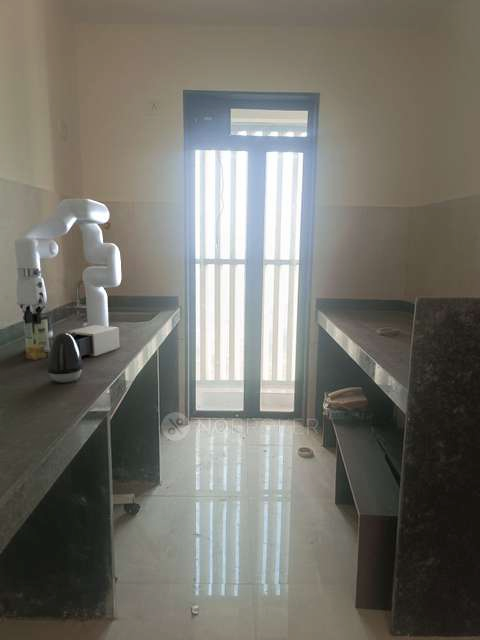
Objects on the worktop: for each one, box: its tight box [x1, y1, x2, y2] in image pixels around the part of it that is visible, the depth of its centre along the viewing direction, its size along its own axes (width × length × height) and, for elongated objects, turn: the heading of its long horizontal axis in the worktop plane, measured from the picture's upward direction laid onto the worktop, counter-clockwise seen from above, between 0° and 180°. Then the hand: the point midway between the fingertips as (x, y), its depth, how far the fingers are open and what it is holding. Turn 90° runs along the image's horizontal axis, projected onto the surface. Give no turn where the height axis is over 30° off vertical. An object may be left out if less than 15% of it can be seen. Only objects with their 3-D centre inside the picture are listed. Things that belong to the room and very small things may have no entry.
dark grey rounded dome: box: [46, 332, 84, 384], centre depth 129 cm, size 10×10×15 cm
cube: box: [25, 344, 46, 361], centre depth 155 cm, size 4×4×4 cm
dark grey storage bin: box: [44, 334, 93, 357], centre depth 155 cm, size 19×11×7 cm, turn 157°
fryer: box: [67, 325, 121, 357], centre depth 166 cm, size 15×13×9 cm
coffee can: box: [22, 312, 54, 348], centre depth 165 cm, size 10×10×14 cm
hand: (33, 322), depth 153 cm, fingers open, 3 cm apart
